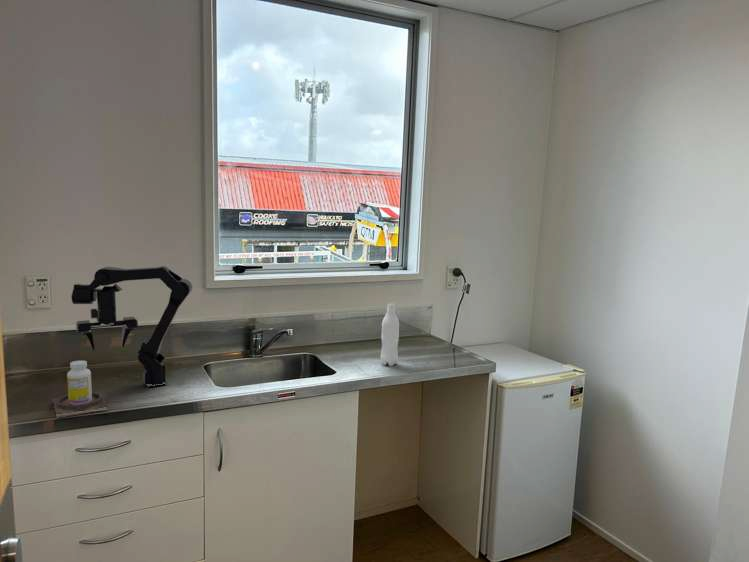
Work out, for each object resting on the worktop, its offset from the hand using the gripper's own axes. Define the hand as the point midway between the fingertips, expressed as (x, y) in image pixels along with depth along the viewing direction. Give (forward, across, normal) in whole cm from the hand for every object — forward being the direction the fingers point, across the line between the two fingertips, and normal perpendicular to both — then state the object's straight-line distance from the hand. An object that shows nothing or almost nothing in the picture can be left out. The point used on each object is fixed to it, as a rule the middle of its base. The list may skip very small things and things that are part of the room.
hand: (108, 348), depth 201 cm
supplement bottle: (+12, +11, +18) cm, 24 cm away
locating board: (+13, +11, +18) cm, 25 cm away
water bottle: (+13, -102, +22) cm, 105 cm away
